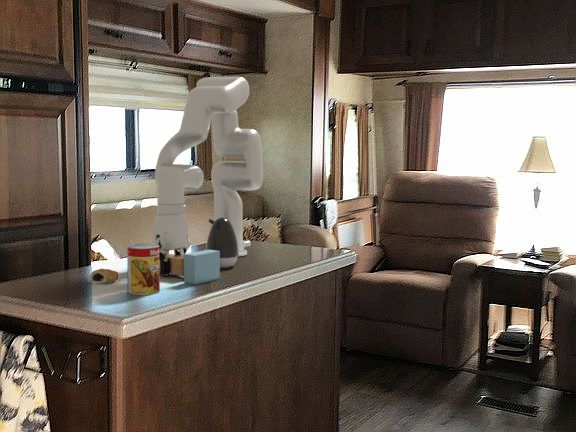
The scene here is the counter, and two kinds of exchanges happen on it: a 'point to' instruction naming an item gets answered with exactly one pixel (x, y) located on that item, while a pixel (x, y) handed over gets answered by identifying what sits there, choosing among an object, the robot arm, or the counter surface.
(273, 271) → the counter surface
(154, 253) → the canned food
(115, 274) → the pastry
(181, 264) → the tan wooden plank
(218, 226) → the pump dispenser
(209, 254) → the socket block
